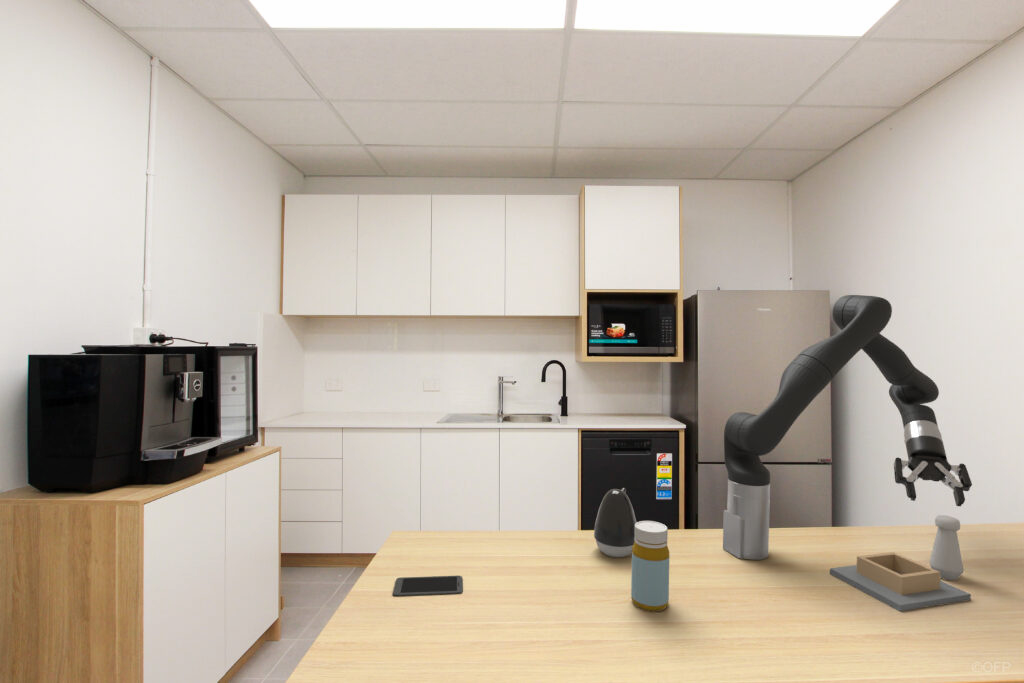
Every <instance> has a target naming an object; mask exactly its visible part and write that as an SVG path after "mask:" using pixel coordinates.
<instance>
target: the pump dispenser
mask: <svg viewBox="0 0 1024 683" xmlns="http://www.w3.org/2000/svg"><path fill="white" fill-rule="evenodd" d="M626 492H627V489H626V487H622V488H621V489H618V488H613V489H612V488H611V489H610V490H608V491H607V492H606V494H605V495H604V496H603V498H602V501H601V503H600V506H599V508H598V511H597V516H596V519H595V523H594V530H593V531H594V532H593V538H594V539H595V543H596V546H597V548H598V549H599V551H601V552H602V553H603V554H605V555H606V556H608V557H612V558H625V557H627V556H629V555H630V554H632V547H633V545H634V542H635V524H636V523H637V519H636V515H635V511H634V508H633V505H632V503H631V500H630V498H629V496H628V494H627V493H626Z"/></svg>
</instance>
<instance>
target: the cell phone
mask: <svg viewBox="0 0 1024 683" xmlns="http://www.w3.org/2000/svg"><path fill="white" fill-rule="evenodd" d="M393 586H394V587H393V589H392V590H393V591H392V596H393V597H399V598H400V597H421V596H423V597H424V596H443V595H445V596H449V595H450V596H451V595H462V594H463V592H464V579H463V576H462V575H437V576H433V575H431V576H408V577H406V576H405V577H404V576H403V577H397V578H396V580H395V582H394V585H393Z"/></svg>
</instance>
